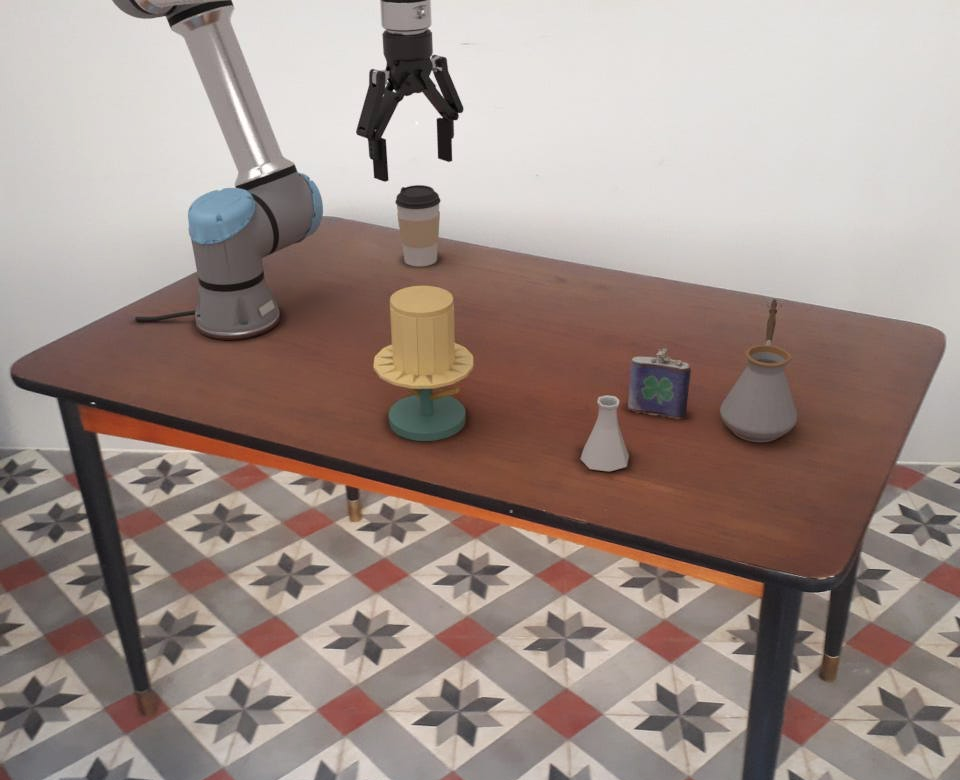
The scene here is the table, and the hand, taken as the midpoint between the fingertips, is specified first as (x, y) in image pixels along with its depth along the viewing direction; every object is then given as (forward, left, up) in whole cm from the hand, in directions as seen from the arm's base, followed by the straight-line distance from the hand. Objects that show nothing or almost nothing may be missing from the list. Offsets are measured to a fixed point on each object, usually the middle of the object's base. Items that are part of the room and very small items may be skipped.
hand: (413, 169), depth 169 cm
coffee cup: (-15, +33, -31) cm, 48 cm away
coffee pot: (+60, -5, -31) cm, 68 cm away
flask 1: (+41, -26, -31) cm, 58 cm away
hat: (+12, -25, -21) cm, 35 cm away
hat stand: (+12, -25, -31) cm, 41 cm away
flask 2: (+45, -10, -31) cm, 55 cm away
